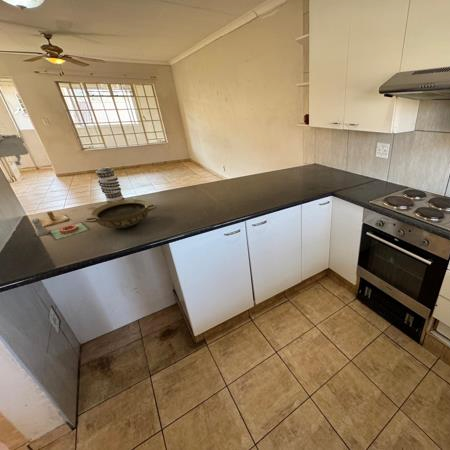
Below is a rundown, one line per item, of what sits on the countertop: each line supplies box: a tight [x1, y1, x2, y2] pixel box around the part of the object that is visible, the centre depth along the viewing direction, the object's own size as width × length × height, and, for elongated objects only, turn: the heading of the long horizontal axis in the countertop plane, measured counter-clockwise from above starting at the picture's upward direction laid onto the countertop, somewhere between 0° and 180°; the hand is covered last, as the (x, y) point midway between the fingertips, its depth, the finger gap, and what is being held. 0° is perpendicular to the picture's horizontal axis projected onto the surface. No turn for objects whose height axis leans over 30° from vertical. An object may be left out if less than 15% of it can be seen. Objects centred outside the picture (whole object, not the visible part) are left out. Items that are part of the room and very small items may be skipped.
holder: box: [40, 210, 69, 228], centre depth 129 cm, size 10×10×6 cm
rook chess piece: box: [30, 217, 50, 237], centre depth 117 cm, size 4×4×8 cm
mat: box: [50, 222, 89, 240], centre depth 121 cm, size 12×12×1 cm
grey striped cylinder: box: [95, 166, 125, 204], centre depth 138 cm, size 9×9×25 cm
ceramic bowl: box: [84, 198, 157, 229], centre depth 124 cm, size 30×24×10 cm
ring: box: [59, 224, 79, 234], centre depth 121 cm, size 7×7×1 cm
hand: (5, 167), depth 118 cm, fingers open, 8 cm apart
